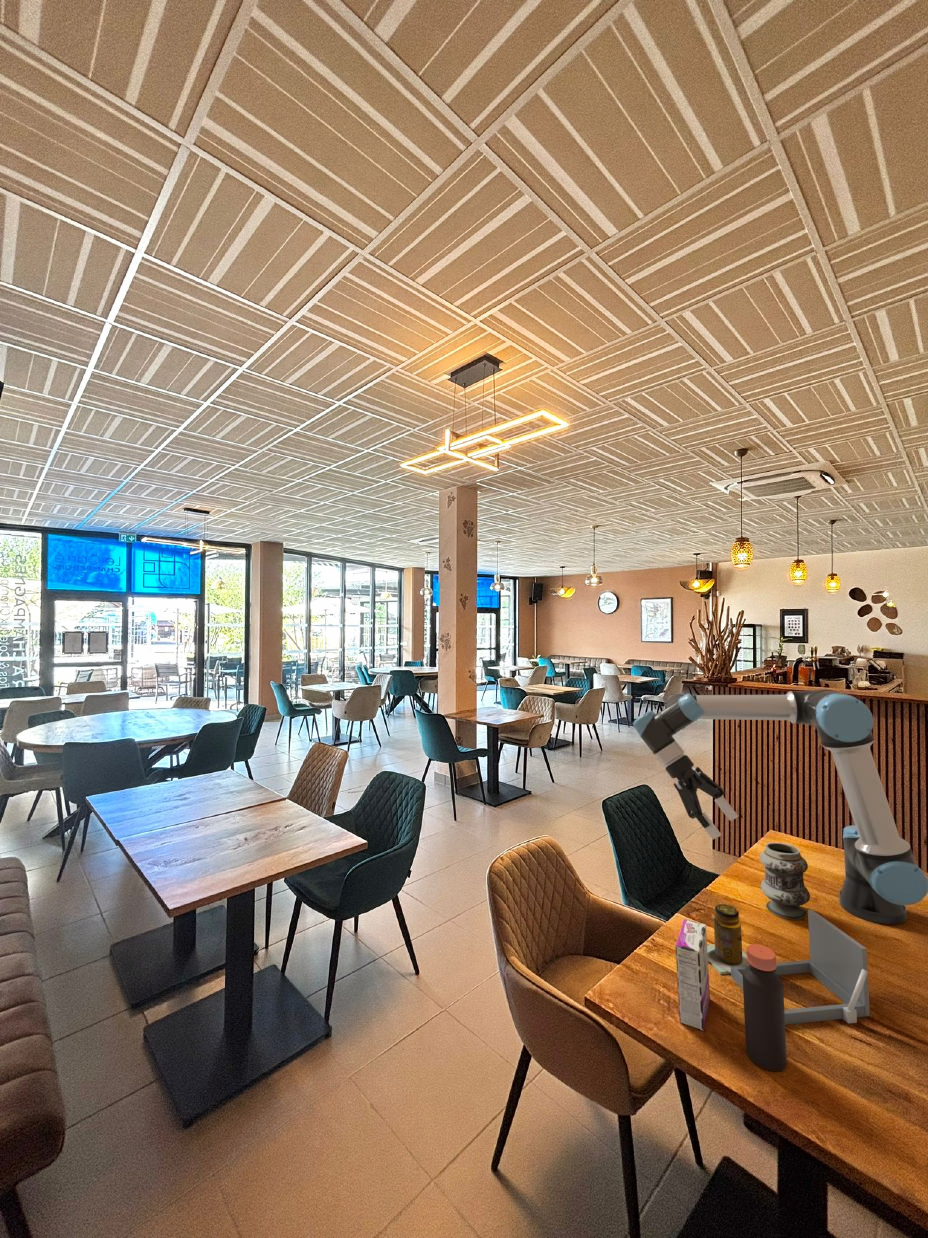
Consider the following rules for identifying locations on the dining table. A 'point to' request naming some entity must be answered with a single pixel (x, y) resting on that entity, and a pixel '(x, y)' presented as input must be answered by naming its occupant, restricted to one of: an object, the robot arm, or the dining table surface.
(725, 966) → the condiment
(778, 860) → the apothecary jar
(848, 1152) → the dining table surface
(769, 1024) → the bottle
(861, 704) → the robot arm
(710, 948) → the pad
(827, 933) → the grey holder frame
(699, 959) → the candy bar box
